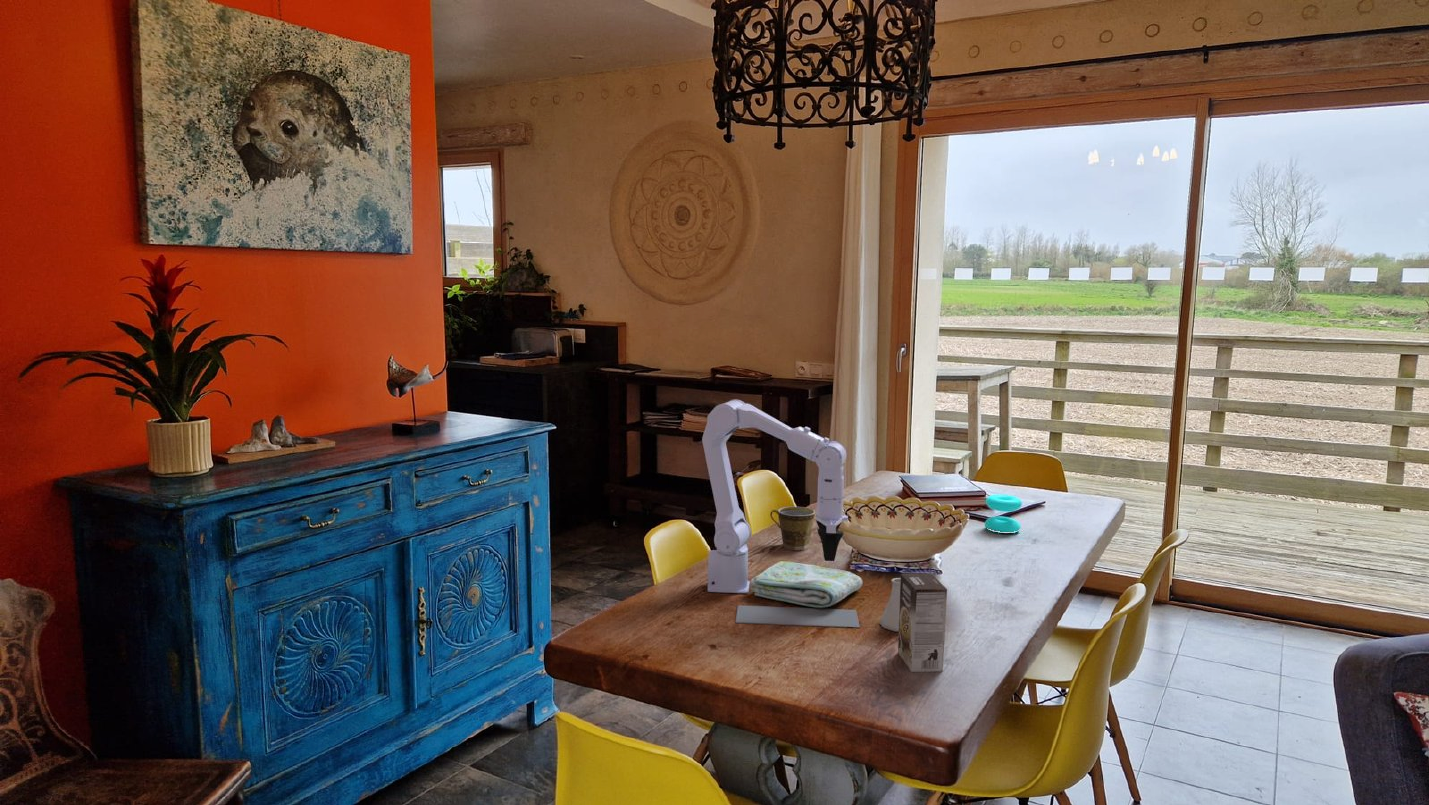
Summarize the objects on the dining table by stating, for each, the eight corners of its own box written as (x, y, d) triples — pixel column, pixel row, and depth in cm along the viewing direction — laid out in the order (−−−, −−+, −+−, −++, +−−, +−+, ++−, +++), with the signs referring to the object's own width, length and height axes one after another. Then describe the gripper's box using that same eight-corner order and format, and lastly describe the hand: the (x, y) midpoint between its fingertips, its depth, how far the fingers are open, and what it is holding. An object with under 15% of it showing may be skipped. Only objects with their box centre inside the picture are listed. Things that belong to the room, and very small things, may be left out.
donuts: (982, 493, 269) (1015, 493, 269) (980, 525, 270) (1013, 526, 270) (991, 501, 259) (1026, 501, 259) (990, 535, 260) (1024, 535, 260)
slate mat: (735, 623, 190) (735, 622, 190) (737, 606, 200) (737, 605, 200) (859, 628, 188) (859, 627, 188) (856, 610, 198) (856, 610, 198)
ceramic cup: (820, 545, 248) (821, 510, 246) (803, 554, 239) (804, 517, 238) (778, 537, 254) (779, 503, 253) (761, 546, 246) (761, 510, 245)
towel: (781, 575, 222) (782, 555, 221) (863, 590, 211) (864, 569, 211) (746, 596, 206) (747, 574, 206) (833, 613, 196) (834, 591, 195)
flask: (894, 635, 185) (896, 588, 184) (872, 623, 191) (874, 577, 190) (922, 629, 188) (924, 583, 187) (900, 617, 195) (902, 573, 193)
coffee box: (896, 652, 176) (899, 572, 174) (928, 652, 177) (932, 572, 175) (910, 672, 167) (913, 588, 165) (944, 671, 168) (948, 588, 166)
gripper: (850, 505, 194) (848, 566, 196) (846, 490, 208) (844, 547, 210) (817, 504, 195) (816, 565, 196) (815, 489, 209) (814, 546, 211)
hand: (828, 555), depth 203 cm, fingers open, 6 cm apart
